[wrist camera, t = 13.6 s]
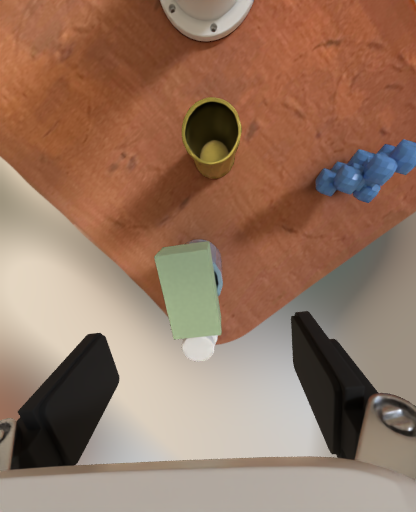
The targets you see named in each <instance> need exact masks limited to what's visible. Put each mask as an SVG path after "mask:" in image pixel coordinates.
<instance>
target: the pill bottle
mask: <svg viewBox="0 0 416 512" xmlns="http://www.w3.org/2000/svg"><path fill="white" fill-rule="evenodd" d="M217 338H218V335H215V336H204V337H194V338H184V339H183V345H182V351H183V353H184V355H185V356H186V357H187V358H188V359H190V360H192V361H197V362H201V361H205V360H207V359H209V358H210V357H211V356H212V354H213V352H214V345H215V343H216V341H217Z"/></svg>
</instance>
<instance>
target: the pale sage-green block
mask: <svg viewBox="0 0 416 512" xmlns="http://www.w3.org/2000/svg"><path fill="white" fill-rule="evenodd" d="M154 258H155V262H156V267H157V271H158V275H159V279H160V283H161V288H162V292H163V296H164V300H165V304H166V309H167V313H168V317H169V321H170V325H171V330H172V333H173V338H174V339H184V338H194V337H204V336H215V335H221V313H220V307H219V301H218V294H217V288H216V281H215V275H214V268H213V262H212V256H211V249H210V243H209V241H205V242H198V243H191V244H184V245H177V246H169V247H163V248H162V249H161V250H160V251H159V252H158V253H157V254H156V255H155V256H154Z"/></svg>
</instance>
